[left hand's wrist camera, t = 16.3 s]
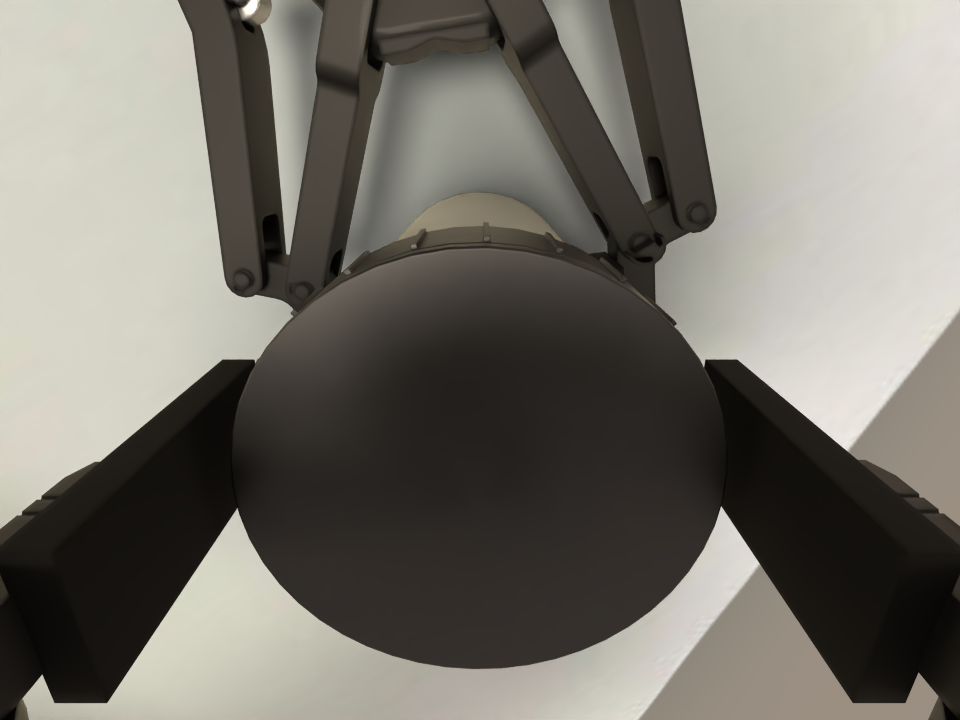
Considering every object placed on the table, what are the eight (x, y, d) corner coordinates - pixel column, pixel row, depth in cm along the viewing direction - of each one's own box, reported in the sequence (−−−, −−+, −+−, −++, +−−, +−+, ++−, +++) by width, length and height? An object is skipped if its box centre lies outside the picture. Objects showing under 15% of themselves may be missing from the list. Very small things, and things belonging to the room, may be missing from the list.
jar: (584, 205, 24) (748, 301, 9) (550, 375, 27) (635, 649, 12) (397, 180, 23) (262, 237, 9) (385, 355, 26) (269, 613, 12)
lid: (277, 186, 10) (221, 197, 8) (744, 263, 11) (811, 293, 9) (269, 565, 14) (229, 645, 11) (625, 609, 14) (651, 692, 12)
